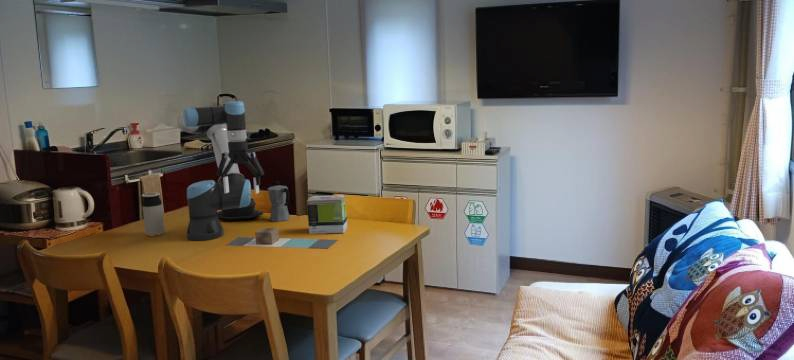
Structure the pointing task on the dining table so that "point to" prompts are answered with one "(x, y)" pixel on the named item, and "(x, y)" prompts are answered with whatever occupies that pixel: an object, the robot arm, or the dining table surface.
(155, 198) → the travel mug
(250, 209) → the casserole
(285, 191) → the coffeepot
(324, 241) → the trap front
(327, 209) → the tea box
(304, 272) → the dining table surface
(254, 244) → the tile
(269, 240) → the walnut block
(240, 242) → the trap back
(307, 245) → the pad
